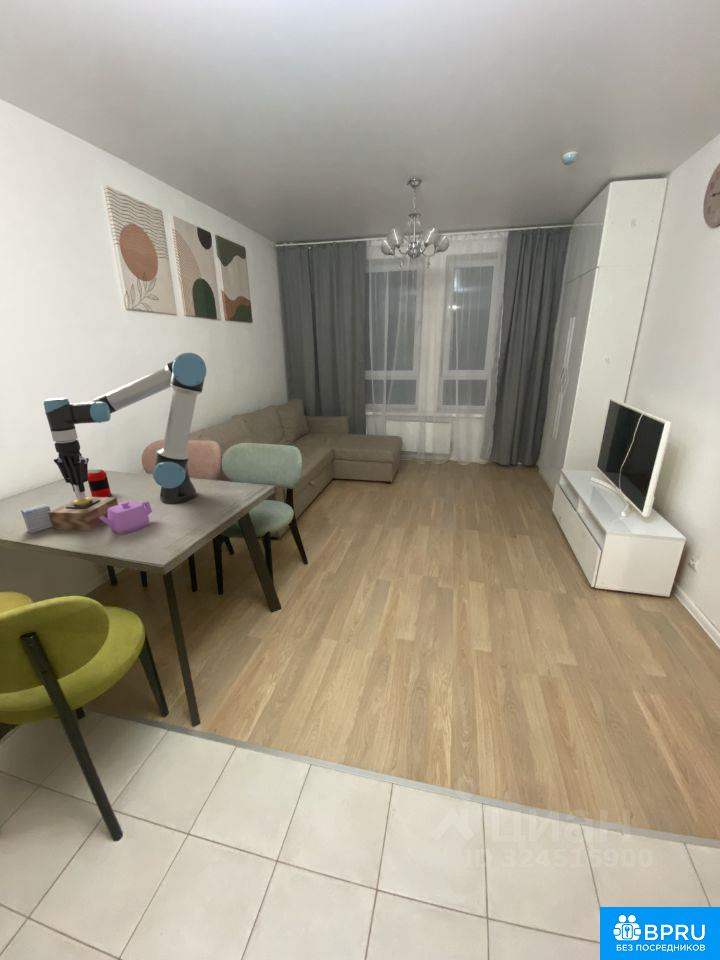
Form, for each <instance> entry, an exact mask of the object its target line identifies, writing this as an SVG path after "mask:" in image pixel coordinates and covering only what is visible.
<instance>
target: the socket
mask: <svg viewBox="0 0 720 960" xmlns="http://www.w3.org/2000/svg"><path fill="white" fill-rule="evenodd" d="M89 497H90V498H91V499H92V501H91V502H90V503H89V504H87V505H85V506H77V505H75V504H74V503H73V501H74V500H76V499H77V498H75V499H73V500H71V501H69V502H66V503H64V504H63V505H61V506H58V507H56V508H54V509H52V510H50V512H48V514H49V517H50V520H51V524H52V527H51V528H52V530H66V531H67V530H68V531H70V530H71V531H92V530H94V529H96V528H98V527H99V526H101V525H103V524H106V523H105V522H103V521H102V520H101V519H99V517H101V516H104V517H106V518H107V519H108V508H110V507H113V506H116V505H119V503H118V500H117V499H118V498H117V497H110V496H108V497H92V496H89Z"/></svg>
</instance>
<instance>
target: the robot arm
mask: <svg viewBox="0 0 720 960" xmlns="http://www.w3.org/2000/svg"><path fill="white" fill-rule="evenodd" d="M165 365H166V366H165V367H164V368H161V369H160V370H159V369H158V370H156V371H154V372H152V373H150V374H147V375H145V376H143V377H141V378H138V379H136V380H134V381H132V382H129V383H127V384H125V385H122V386H121V387H118V388H116V389H113V390H111V391H109V392H106V393H105V394H103V395H100V396H97V397H94V398H92V399H90V400H89V401H86V402H78V403H77V402H75V403H73V402H70V401H69V399H68V398H67V397H55V398H53V397H52V398H48V399H44V401H43V406H44V410H45V411H44V412H45V413H44V414H45V416H46V419H47V421H48V425H49V430H50V433H51V437H52V438H51V439H52V441H53V442H54V449H55V451H56V453H58V455H57V456H58V457H57V458H54V459H53V462H54V463H55V464H56V466H57V467H58V469H59V471H60V473H61V476H62V477H63V480H64V481H65V483H67V484H68V483H69V484H70V485H71V487H72V490H73V492H74V494H75V499H77V501H81V500H84V499H86V497H87V496H86V492H85V491H86V489H85V483H86V482H87V483H88V472H89V469H88V463H89V461H90V459H89V458H88V457H83V456H82V455H83V454H82V453H81V452H80V450H81V444H80V440H79V439H78V437H79V436H78V434H77V433H78V432H77V430H76V425H79V424H91V423H92V424H96V423H98V424H101V423H105V422H109V421H110V420H111V414H113V413H116V412H118V411H120V410H122V409H124V408H126V407H129V406H131V405H133V404H136V403H137V402H141V401H143V400H145V399H146V398H149V397H151V396H153V395H155V394H158V393H160V392H163V391H164V390H167V389H169V388H172V397H171V402H170V406H169V407H170V408H169V413H168V417H167V423H166V429H165V433H164V439H163V446H162V448H159V449H157V450H156V451H155V457H156V458H155V459H156V460H155V465H154V468H153V470H152V477H153V478H152V479H153V480H154V482H155V483H156V484H157V485H159V486H160V487H161V488H160V493H159V497H160V502H162V503H164V504H180V503H184V502H187V501H191V500H193V499H195V498H196V497H197V496H198V495H197V490H196V488H195V486H194V484H193V482H192V480H191V477H190V472H189V466H188V463H189V458H190V457H189V455H188V454H187V446H188V443H189V438H190V437H189V436H190V432H191V427H192V422H193V418H194V411H195V408H196V402H197V396H198V395H200V394H201V393H203V389H204V385H205V379H206V376H207V366H206V362H205V361H204V360H203V358H202V357H201V356H200V355H199V354H196V353H193V352H183V353H181V354H179V355H178V356H176V357H175V359H174V360H173V361H171V362H168V363H167V364H165Z"/></svg>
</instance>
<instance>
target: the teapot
mask: <svg viewBox="0 0 720 960" xmlns="http://www.w3.org/2000/svg"><path fill="white" fill-rule="evenodd" d="M152 512H153V510H152V507H151V504H150V501H149V500H145V501H140V502H138V501H136V500H130V501H122V502H121V503H118V505H116V506H113V507H110V508H108V519H107V518H106V517H104V516H101V517H99V519H101V520H102V521H103V522H105V523H104V524H106V525H107V526H108V527H109V528H110V529H111V531H112V532H115V533H117V534H118V535H122V536H123V535H125V534H129V533H132V532H134V531H135V532H136V531H138V530H141V529H143V528H145V527H148V526H149V525H150V517H149V515H151V513H152Z"/></svg>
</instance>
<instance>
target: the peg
mask: <svg viewBox="0 0 720 960" xmlns="http://www.w3.org/2000/svg"><path fill="white" fill-rule="evenodd" d="M90 497H91V496H86V499H84V500H81V501H77V498H75V499H76V500H75V499H73V500H74V501H73V500H72V501H73V503H74V504H75V505H77V506H85V505H87V504H89V503H90V502H91V501H92V499H91V498H90Z"/></svg>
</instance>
